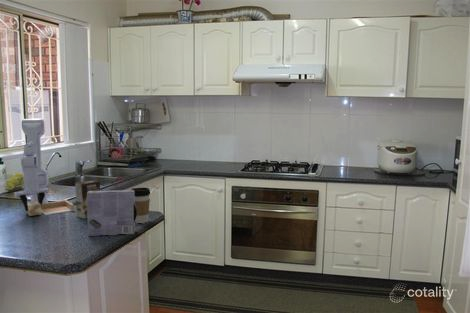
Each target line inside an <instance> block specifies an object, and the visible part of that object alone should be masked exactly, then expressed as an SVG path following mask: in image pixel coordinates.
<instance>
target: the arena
mask: <svg viewBox="0 0 470 313" xmlns="http://www.w3.org/2000/svg"><path fill="white" fill-rule="evenodd" d="M73 211H75V206H74V204H73V203H71V202H70V201H69V200H67V199H65V200H58V201H51V202H49V203H43V204H42V205H41V212H42V214H43V215H44V216H50V215H51V216H53V215H58V214H64V213H68V212H73Z"/></svg>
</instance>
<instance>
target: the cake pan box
mask: <svg viewBox="0 0 470 313" xmlns="http://www.w3.org/2000/svg"><path fill="white" fill-rule="evenodd" d="M136 217H137V206H136V203H135V191H134V190H130V189H128V190H127V189H126V190H100V191H88V192H87V218H86V219H87V220H86V221H87V224H86V225H87V236H88V237H99V236H100V235H103V236H105V235H109V236H119V235H118V234H126V235H135V232H136V223H135V220H136Z"/></svg>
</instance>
